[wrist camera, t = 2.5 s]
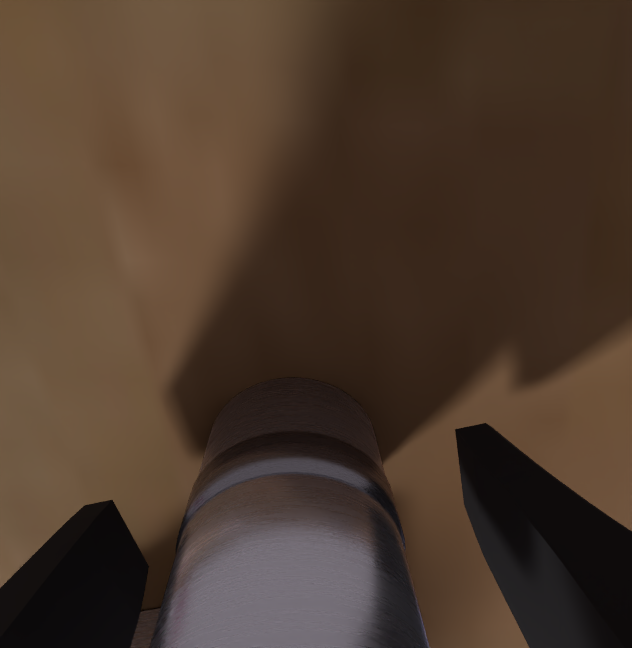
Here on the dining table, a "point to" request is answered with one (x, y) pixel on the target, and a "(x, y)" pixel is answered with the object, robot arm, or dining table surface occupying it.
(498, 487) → the robot arm
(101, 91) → the dining table surface
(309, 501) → the lens
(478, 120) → the dining table surface
